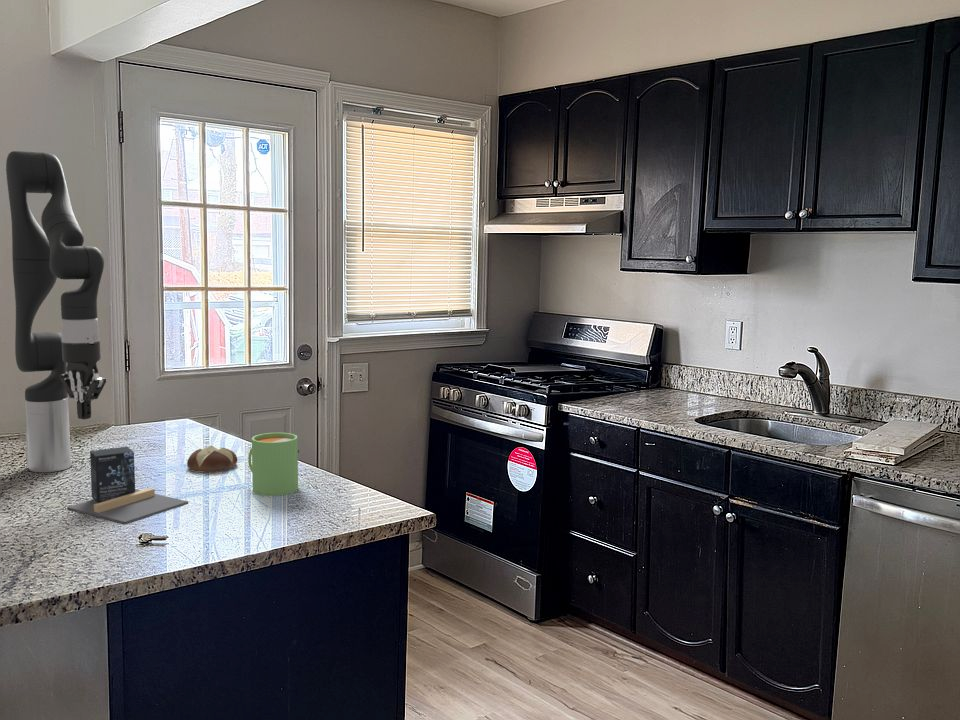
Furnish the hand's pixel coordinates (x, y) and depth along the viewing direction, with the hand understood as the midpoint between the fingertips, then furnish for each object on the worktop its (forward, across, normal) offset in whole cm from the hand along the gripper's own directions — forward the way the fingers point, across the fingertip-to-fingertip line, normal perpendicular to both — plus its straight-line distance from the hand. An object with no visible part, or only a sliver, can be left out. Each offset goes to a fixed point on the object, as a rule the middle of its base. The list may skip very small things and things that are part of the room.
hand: (84, 418), depth 188 cm
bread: (+18, +6, +31) cm, 36 cm away
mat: (+17, +14, -1) cm, 22 cm away
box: (+17, +8, 0) cm, 19 cm away
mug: (+17, +30, +25) cm, 43 cm away
